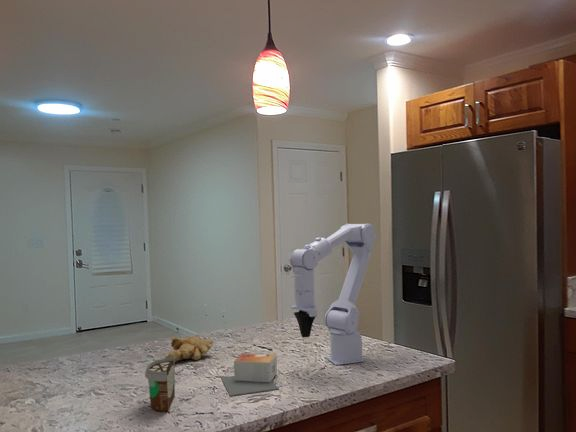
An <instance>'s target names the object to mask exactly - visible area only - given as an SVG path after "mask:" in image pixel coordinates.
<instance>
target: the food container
mask: <svg viewBox="0 0 576 432" xmlns="http://www.w3.org/2000/svg"><path fill="white" fill-rule="evenodd" d="M175 365H176V364H175V360H174V358H166V357H164V358H161V359H158V360H155V361H151V362H150V363H149V364H148V365H147V367H146V368H145V373H144V377H145V378H146V379H147V382H148V390H149V400H150V409H151V410H152V411H154V412H156V413H167V412H168V413H170V411H171V408H172V405H173V403H174V401H175V399H176V395H175V393H176V390H175V389H176V387H175V385H176V384H175V383H176V382H175V377H176V375H175Z"/></svg>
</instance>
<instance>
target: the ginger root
mask: <svg viewBox="0 0 576 432" xmlns="http://www.w3.org/2000/svg"><path fill="white" fill-rule="evenodd" d="M170 344H171V347H172V349H173V350H170V351H169V352H168V354H167V355H166V356H165V358H174V360H175V362H179V361H182V360H189V359H190V358H191V359H192V360H195V361H199V360H200V359H201V358H202V355H206V354H208V352H209V351H210V349H211V348H212V346H213V344H214V340H213V339H209V338H201V337H197V336H189V337H188V336H187V337H184V338H183V339H182V338H180V337H176V336H175V337H174V338H171V342H170Z"/></svg>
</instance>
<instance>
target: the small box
mask: <svg viewBox="0 0 576 432" xmlns="http://www.w3.org/2000/svg"><path fill="white" fill-rule="evenodd" d="M277 356H278V355H277V354H273V353H272V354H271V353H268V354H267V353H251V352H250V353H248V352H247V353H245V352H244V353H243V352H242V353H241V354H240V355H239V356H238V357H237V358H236V359H234V361H233V362H234V363H233V367H234V368H233V370H234V371H233V372H234V373H233V374H234V376H235V381H252V382H271V381H273V379H274V378H275V376H276V375H277V373H278V363H277V362H278V361H277V359H278V358H277Z"/></svg>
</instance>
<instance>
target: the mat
mask: <svg viewBox="0 0 576 432" xmlns="http://www.w3.org/2000/svg"><path fill="white" fill-rule="evenodd" d="M220 379H221V382H222V383H223V385H224V387H225V390H226V391H227V393H228V395H229V397H236V396H243V395H248V394H249V395H250V394H257V393H264V392H265V393H266V392H271V391H278V390H280V389H279V386H278V385H277V384H276V383H275V382H274V381H273V380H272V381H271V382H252V381H235V375H233V376H232V375H230V376H225V377H224V376H223V377H220Z"/></svg>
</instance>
